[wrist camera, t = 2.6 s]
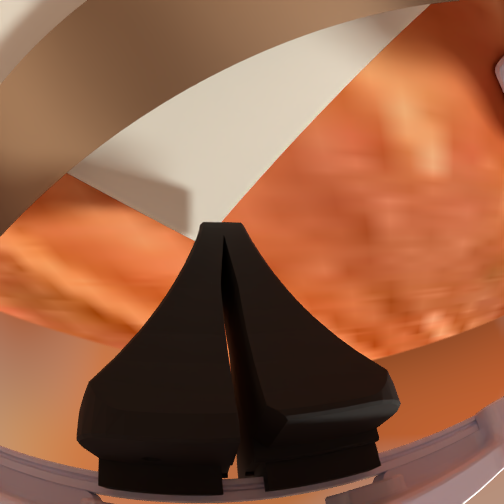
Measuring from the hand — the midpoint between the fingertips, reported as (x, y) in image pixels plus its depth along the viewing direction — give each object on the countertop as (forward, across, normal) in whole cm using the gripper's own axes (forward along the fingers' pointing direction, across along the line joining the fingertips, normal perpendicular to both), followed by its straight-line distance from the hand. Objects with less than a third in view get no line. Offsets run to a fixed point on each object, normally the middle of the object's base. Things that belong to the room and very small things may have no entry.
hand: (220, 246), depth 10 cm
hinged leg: (+1, +2, -7) cm, 7 cm away
